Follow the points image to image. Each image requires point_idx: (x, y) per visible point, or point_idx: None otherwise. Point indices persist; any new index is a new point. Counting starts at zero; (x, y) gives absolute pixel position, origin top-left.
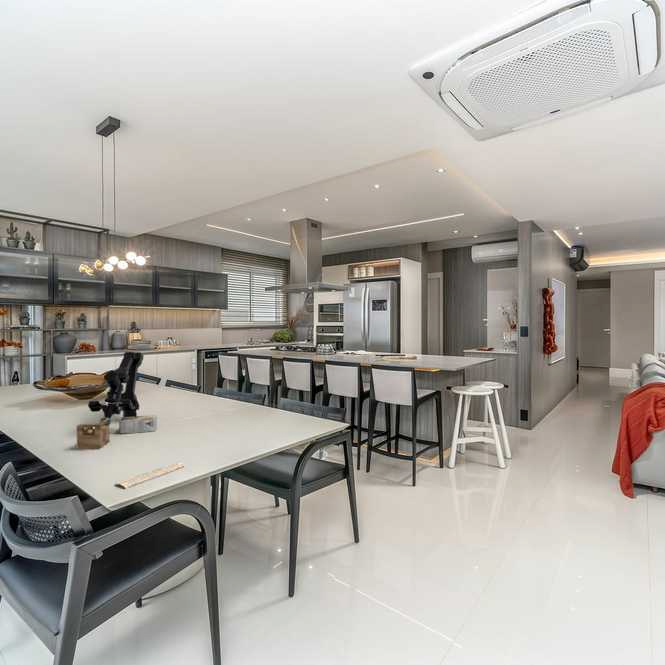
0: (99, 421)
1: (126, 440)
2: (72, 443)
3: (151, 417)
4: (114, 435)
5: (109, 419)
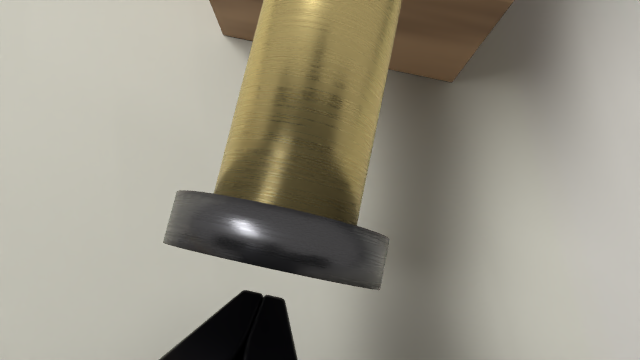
0: (358, 10)
1: (46, 42)
2: (622, 140)
3: None
4: None
5: (172, 214)
